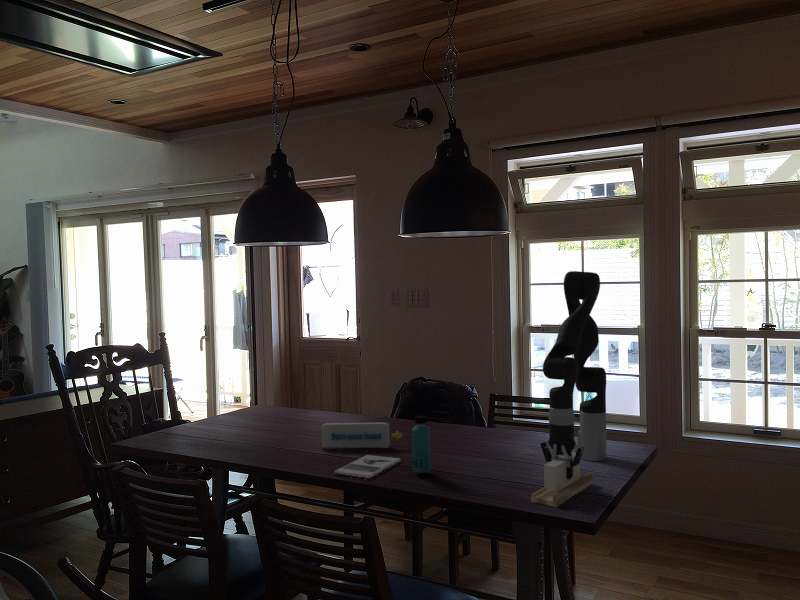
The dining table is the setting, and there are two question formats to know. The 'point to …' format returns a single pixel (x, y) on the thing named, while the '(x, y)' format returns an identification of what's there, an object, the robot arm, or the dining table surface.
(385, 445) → the decorative sign
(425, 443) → the beverage bottle
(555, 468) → the white rectangular block
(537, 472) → the dining table surface
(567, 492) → the wooden grooved tray
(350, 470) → the book
